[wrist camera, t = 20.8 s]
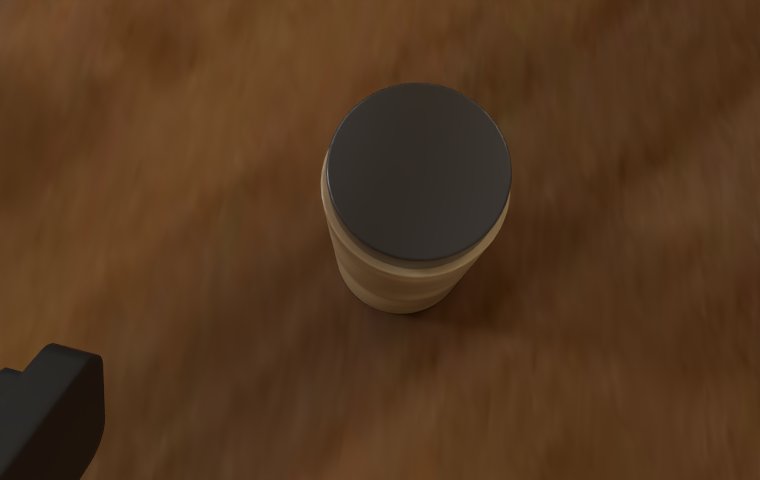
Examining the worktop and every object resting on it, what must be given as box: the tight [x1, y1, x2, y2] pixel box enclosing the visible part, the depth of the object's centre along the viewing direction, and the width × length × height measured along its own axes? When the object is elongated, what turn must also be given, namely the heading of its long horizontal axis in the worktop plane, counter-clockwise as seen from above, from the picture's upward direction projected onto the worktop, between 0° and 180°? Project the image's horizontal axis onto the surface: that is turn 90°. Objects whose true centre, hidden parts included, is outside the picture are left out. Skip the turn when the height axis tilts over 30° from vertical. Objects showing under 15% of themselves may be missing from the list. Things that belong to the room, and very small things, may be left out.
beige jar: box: [321, 83, 512, 314], centre depth 22 cm, size 5×5×10 cm
